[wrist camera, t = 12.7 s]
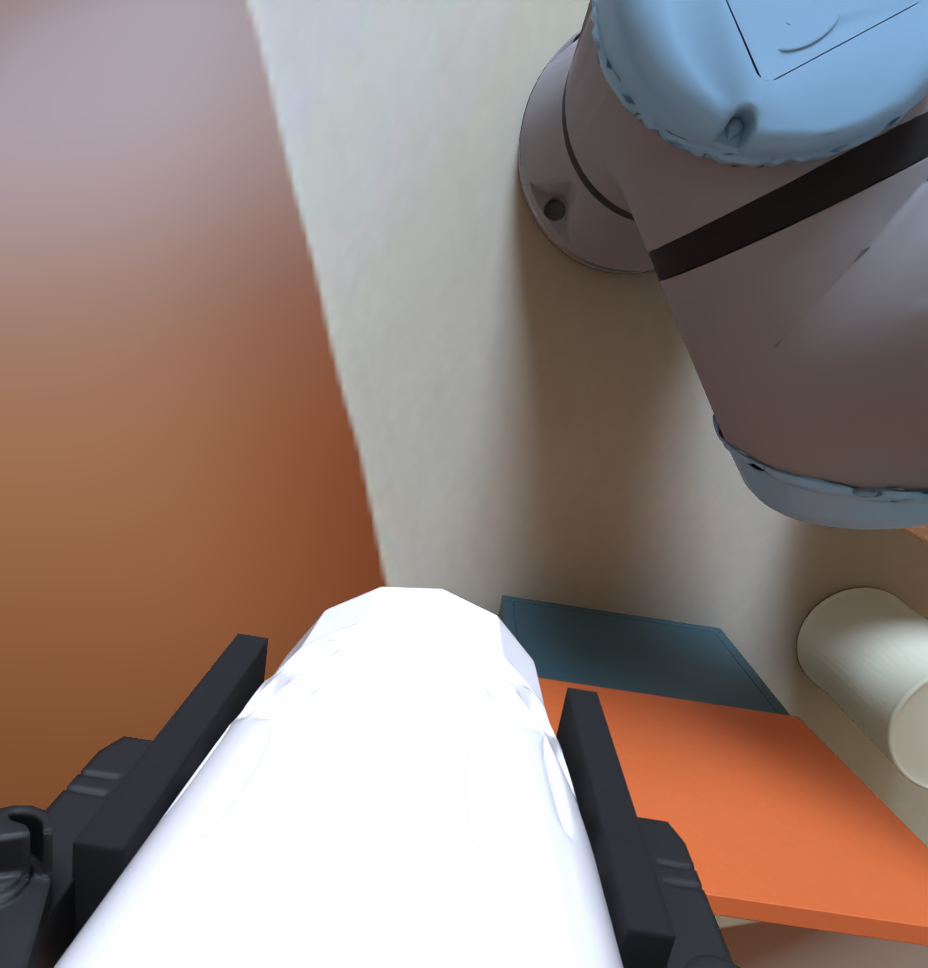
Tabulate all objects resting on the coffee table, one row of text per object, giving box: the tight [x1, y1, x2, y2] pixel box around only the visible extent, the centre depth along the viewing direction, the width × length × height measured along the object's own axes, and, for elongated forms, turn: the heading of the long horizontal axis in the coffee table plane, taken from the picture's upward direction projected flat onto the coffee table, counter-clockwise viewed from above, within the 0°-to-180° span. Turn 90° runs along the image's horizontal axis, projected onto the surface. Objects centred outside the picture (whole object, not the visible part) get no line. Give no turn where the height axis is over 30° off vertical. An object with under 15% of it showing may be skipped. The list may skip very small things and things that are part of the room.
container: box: [498, 596, 790, 715], centre depth 46 cm, size 15×18×12 cm
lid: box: [538, 678, 928, 946], centre depth 30 cm, size 15×18×1 cm
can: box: [797, 588, 928, 790], centre depth 44 cm, size 9×9×12 cm
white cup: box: [53, 587, 624, 968], centre depth 11 cm, size 8×8×10 cm
